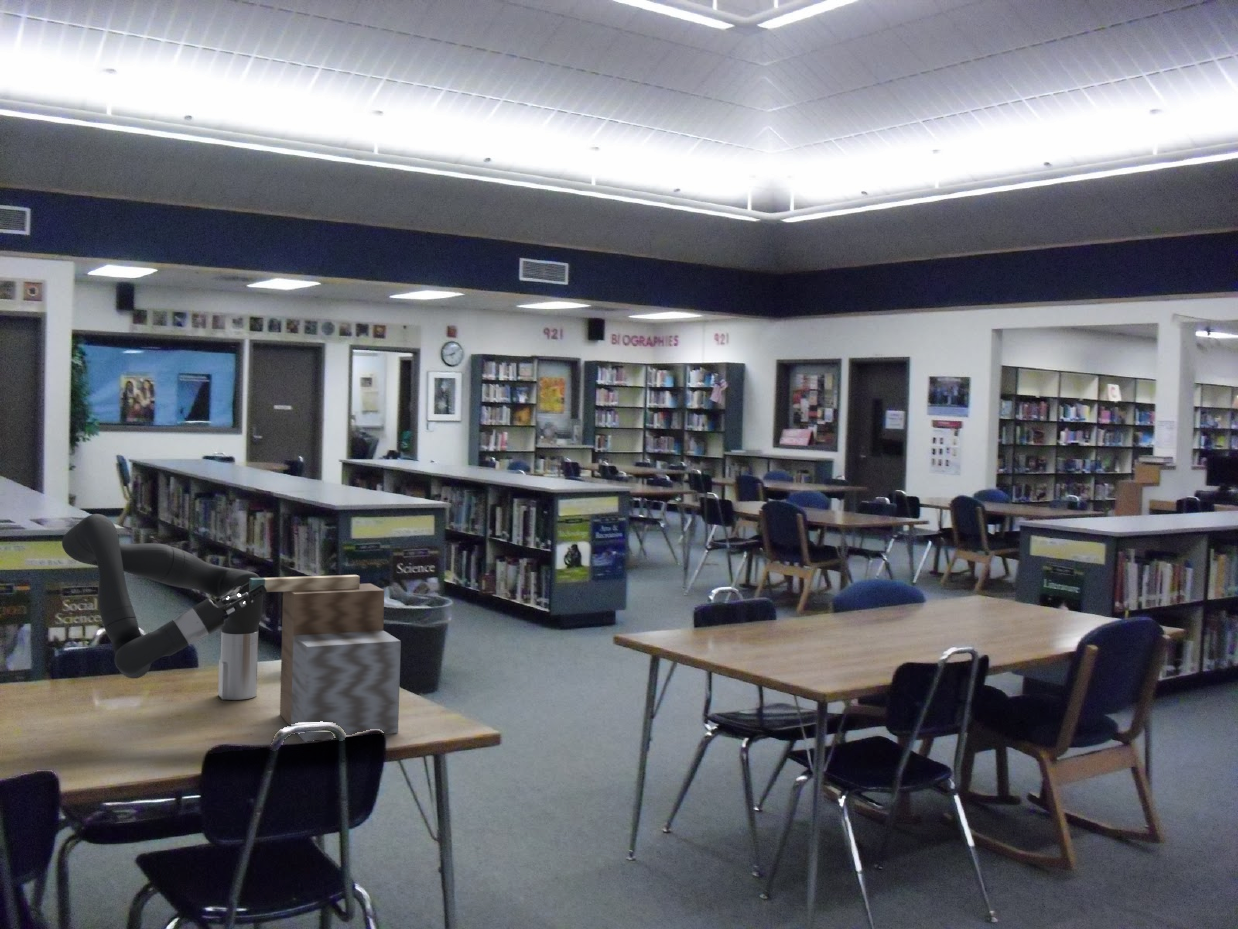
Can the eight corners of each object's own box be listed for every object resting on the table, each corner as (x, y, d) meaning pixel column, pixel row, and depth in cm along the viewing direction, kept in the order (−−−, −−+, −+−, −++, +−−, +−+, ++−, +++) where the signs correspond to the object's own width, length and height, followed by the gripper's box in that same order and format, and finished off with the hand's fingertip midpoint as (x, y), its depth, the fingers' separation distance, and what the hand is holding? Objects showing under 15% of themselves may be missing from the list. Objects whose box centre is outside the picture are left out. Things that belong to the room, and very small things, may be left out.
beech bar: (251, 592, 273) (252, 579, 273) (249, 590, 276) (249, 578, 276) (359, 588, 285) (359, 576, 285) (356, 586, 288) (356, 574, 288)
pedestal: (304, 742, 262) (308, 603, 261) (279, 714, 285) (283, 586, 284) (398, 732, 273) (402, 599, 272) (366, 706, 296) (370, 583, 294)
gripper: (195, 613, 262) (259, 575, 268) (186, 603, 274) (247, 567, 281) (212, 640, 264) (275, 602, 270) (202, 629, 276) (263, 593, 283)
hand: (261, 585), depth 275 cm, fingers open, 8 cm apart
